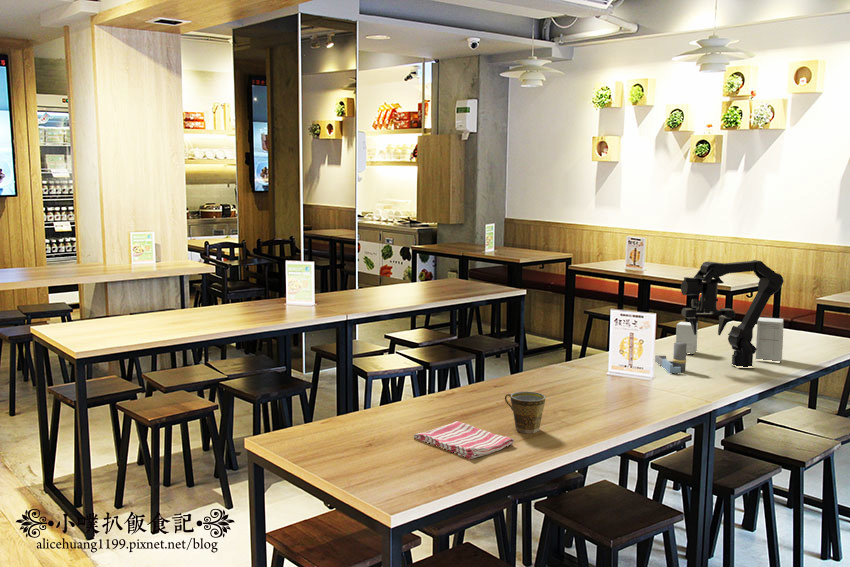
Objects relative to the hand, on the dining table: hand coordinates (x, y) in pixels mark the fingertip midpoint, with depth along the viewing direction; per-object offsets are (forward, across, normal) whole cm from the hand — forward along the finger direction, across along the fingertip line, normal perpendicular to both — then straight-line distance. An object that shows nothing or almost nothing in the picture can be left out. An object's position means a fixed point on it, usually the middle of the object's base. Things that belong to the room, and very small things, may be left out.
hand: (707, 335), depth 292 cm
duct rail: (+13, +14, 0) cm, 19 cm away
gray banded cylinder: (+13, +11, +4) cm, 18 cm away
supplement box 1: (+13, -1, -27) cm, 30 cm away
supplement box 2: (+13, -30, -14) cm, 36 cm away
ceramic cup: (+13, +78, +76) cm, 110 cm away
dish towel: (+14, +96, +88) cm, 131 cm away
